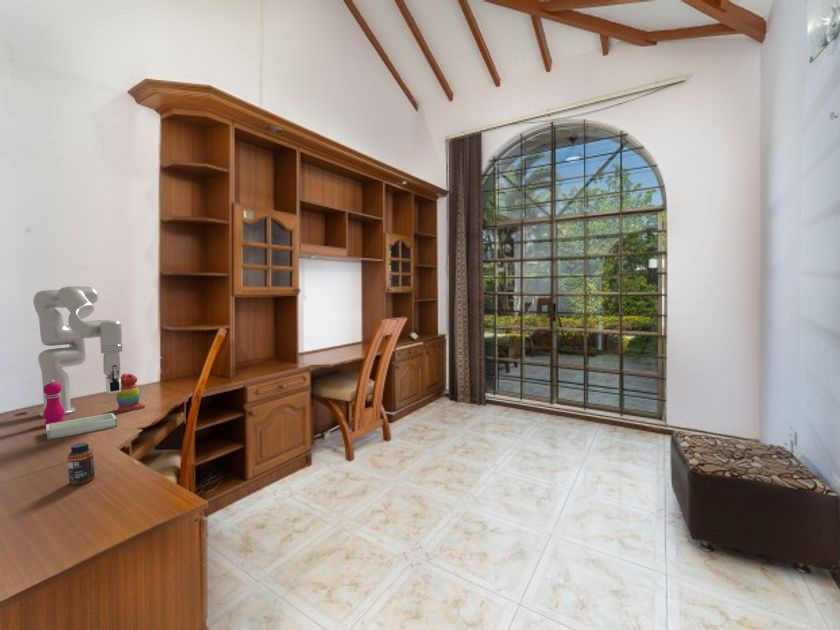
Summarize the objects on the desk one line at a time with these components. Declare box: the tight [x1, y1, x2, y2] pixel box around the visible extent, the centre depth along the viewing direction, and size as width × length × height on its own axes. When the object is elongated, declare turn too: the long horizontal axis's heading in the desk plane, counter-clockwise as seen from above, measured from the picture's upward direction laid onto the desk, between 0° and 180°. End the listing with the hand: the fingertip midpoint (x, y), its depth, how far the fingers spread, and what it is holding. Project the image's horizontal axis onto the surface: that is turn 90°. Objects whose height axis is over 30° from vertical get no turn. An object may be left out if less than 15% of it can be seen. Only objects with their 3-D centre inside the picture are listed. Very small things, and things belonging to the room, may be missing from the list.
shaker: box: [104, 375, 122, 394], centre depth 176 cm, size 5×5×7 cm
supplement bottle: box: [67, 441, 96, 486], centre depth 120 cm, size 6×6×11 cm
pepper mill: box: [42, 380, 66, 427], centre depth 176 cm, size 7×7×20 cm
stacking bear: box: [116, 373, 146, 412], centre depth 199 cm, size 11×10×18 cm
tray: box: [45, 412, 118, 441], centre depth 168 cm, size 12×22×4 cm, turn 135°
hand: (113, 389), depth 176 cm, fingers closed on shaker, 5 cm apart
